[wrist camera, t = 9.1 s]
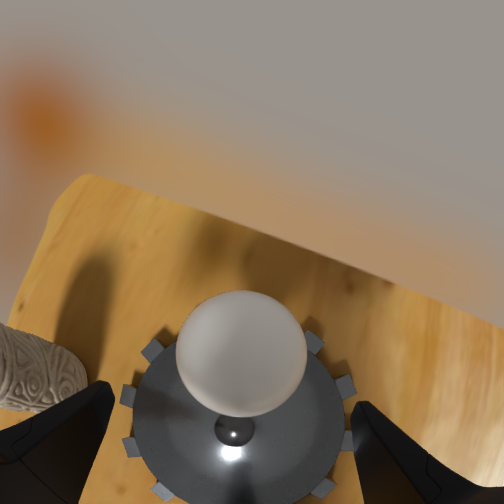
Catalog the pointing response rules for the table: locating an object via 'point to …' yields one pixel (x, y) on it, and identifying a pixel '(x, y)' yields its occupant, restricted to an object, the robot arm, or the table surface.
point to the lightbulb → (241, 353)
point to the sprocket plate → (237, 437)
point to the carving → (36, 372)
